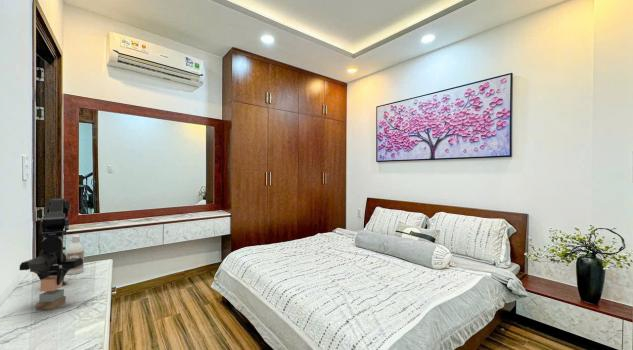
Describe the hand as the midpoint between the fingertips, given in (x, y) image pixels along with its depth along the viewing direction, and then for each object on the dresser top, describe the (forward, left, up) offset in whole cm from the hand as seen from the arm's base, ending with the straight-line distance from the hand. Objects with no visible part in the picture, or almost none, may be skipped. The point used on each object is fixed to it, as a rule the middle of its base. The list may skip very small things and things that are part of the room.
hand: (51, 285), depth 106 cm
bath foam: (-40, +16, -9) cm, 44 cm away
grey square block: (0, 0, -6) cm, 6 cm away
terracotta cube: (0, 0, -2) cm, 2 cm away
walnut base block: (0, 0, -9) cm, 9 cm away
